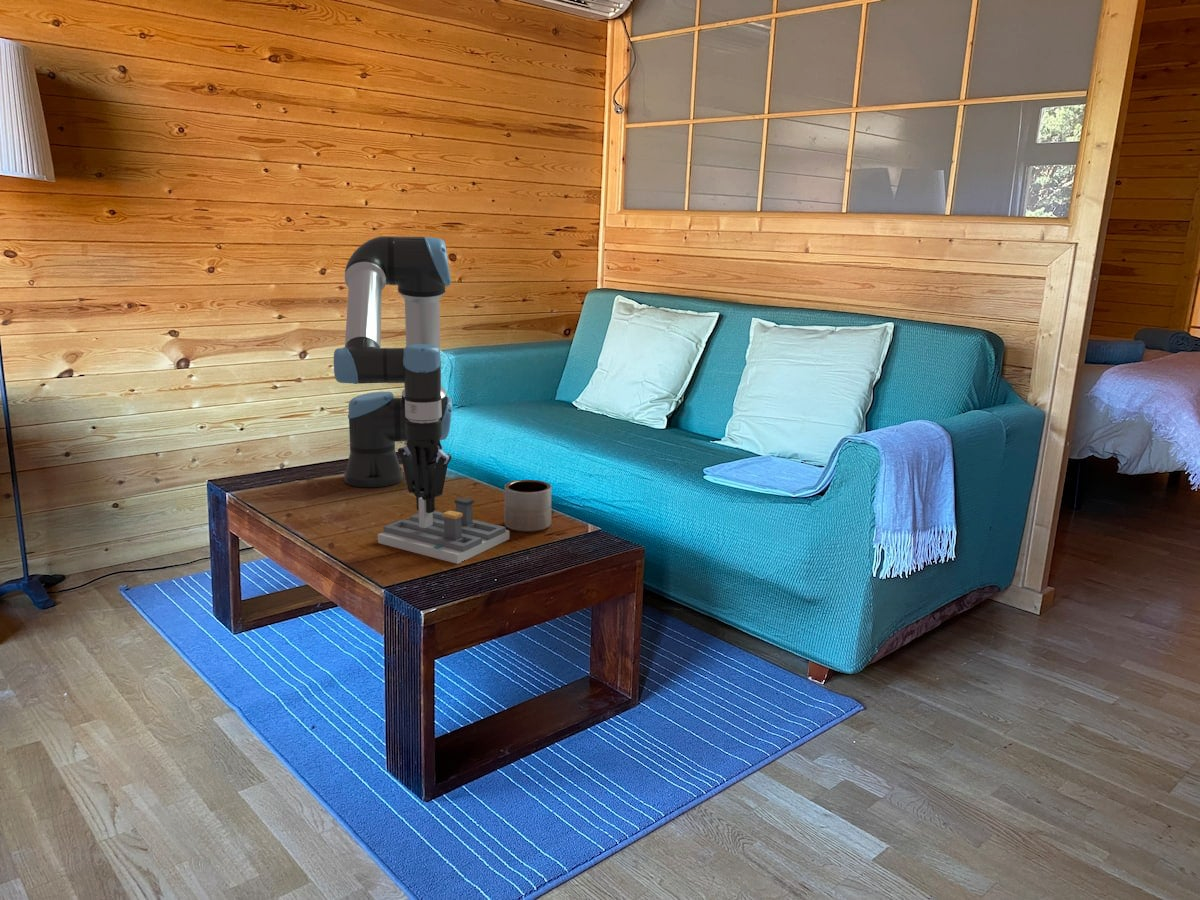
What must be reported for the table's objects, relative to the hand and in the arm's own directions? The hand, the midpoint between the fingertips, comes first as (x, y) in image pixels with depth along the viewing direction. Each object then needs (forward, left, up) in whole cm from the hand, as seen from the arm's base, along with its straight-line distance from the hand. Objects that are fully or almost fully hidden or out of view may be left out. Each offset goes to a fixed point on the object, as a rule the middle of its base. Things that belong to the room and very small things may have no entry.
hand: (426, 525), depth 195 cm
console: (-4, +2, -4) cm, 6 cm away
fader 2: (-8, +4, -2) cm, 9 cm away
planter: (-23, +11, -5) cm, 26 cm away
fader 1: (0, +8, -2) cm, 8 cm away
